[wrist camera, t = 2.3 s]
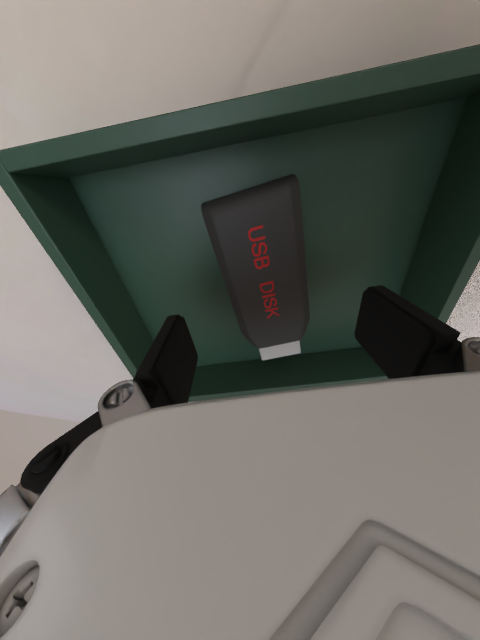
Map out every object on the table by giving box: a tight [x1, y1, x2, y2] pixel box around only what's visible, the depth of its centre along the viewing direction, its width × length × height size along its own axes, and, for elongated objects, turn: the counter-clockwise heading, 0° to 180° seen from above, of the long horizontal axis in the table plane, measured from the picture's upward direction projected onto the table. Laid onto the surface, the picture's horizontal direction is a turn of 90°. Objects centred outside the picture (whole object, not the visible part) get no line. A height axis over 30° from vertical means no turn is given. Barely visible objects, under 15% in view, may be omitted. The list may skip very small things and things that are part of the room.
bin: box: [0, 44, 480, 402], centre depth 13 cm, size 22×17×4 cm
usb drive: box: [201, 174, 310, 360], centre depth 13 cm, size 5×12×3 cm, turn 15°
